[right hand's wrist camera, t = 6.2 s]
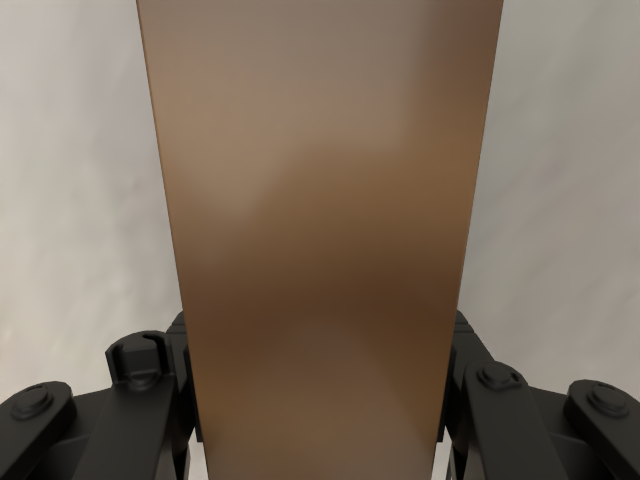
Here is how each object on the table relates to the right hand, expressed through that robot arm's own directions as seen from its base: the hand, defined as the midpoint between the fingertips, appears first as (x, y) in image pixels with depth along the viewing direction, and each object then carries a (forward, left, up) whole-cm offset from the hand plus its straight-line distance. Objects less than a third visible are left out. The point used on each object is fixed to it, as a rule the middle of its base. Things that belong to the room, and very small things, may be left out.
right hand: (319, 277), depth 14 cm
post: (+23, -10, -1) cm, 25 cm away
